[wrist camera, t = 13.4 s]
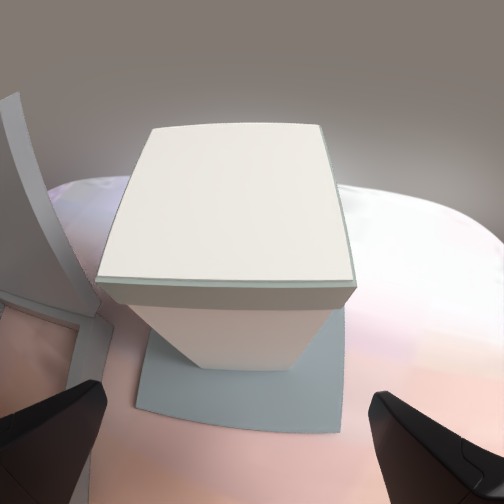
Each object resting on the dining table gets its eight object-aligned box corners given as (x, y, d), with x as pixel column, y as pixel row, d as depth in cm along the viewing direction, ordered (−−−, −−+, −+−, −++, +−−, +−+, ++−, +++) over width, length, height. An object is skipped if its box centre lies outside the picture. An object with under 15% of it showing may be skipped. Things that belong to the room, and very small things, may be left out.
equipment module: (290, 372, 15) (358, 284, 5) (200, 370, 15) (92, 279, 5) (288, 290, 18) (321, 123, 8) (206, 289, 18) (151, 127, 8)
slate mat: (337, 432, 13) (340, 432, 13) (138, 407, 14) (135, 407, 14) (340, 256, 20) (341, 252, 19) (176, 242, 21) (174, 239, 20)
